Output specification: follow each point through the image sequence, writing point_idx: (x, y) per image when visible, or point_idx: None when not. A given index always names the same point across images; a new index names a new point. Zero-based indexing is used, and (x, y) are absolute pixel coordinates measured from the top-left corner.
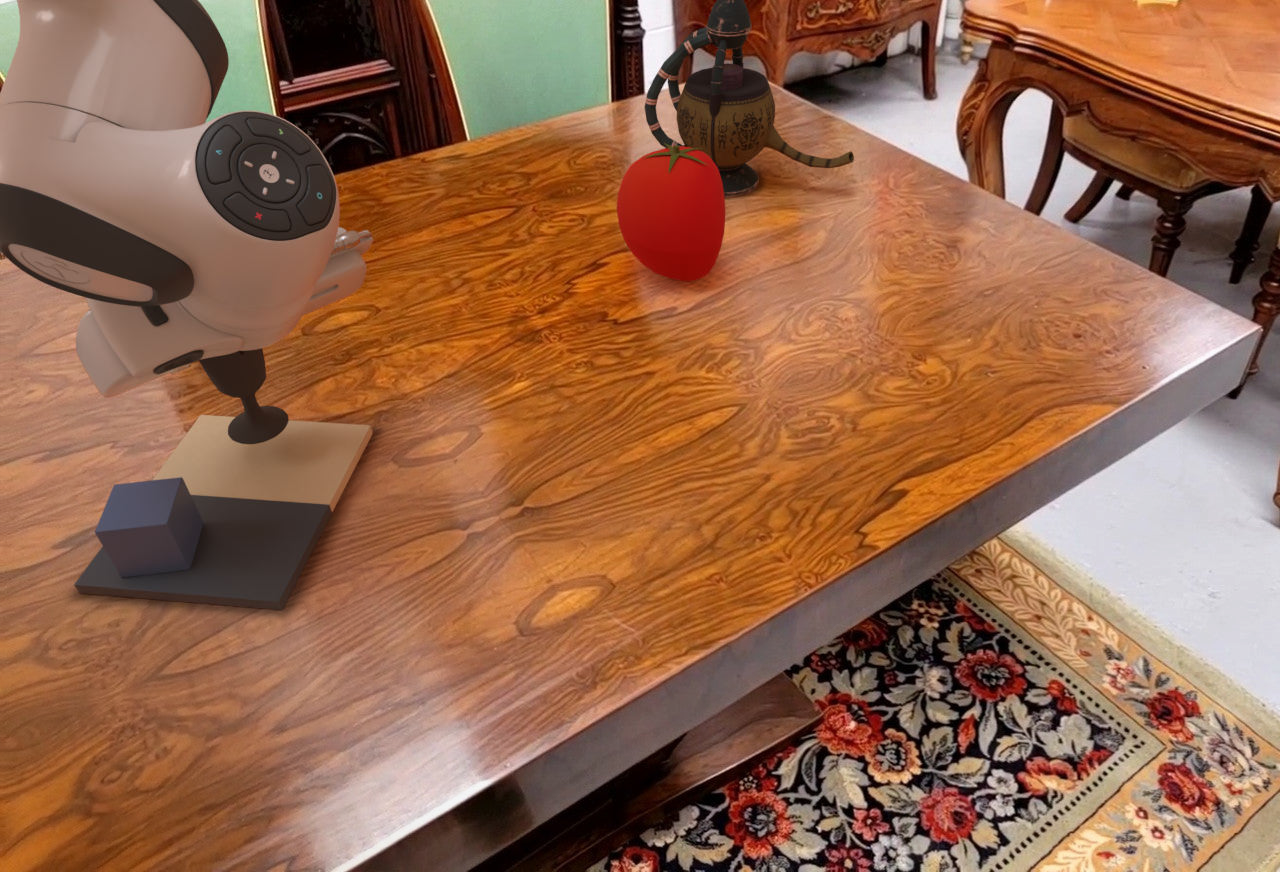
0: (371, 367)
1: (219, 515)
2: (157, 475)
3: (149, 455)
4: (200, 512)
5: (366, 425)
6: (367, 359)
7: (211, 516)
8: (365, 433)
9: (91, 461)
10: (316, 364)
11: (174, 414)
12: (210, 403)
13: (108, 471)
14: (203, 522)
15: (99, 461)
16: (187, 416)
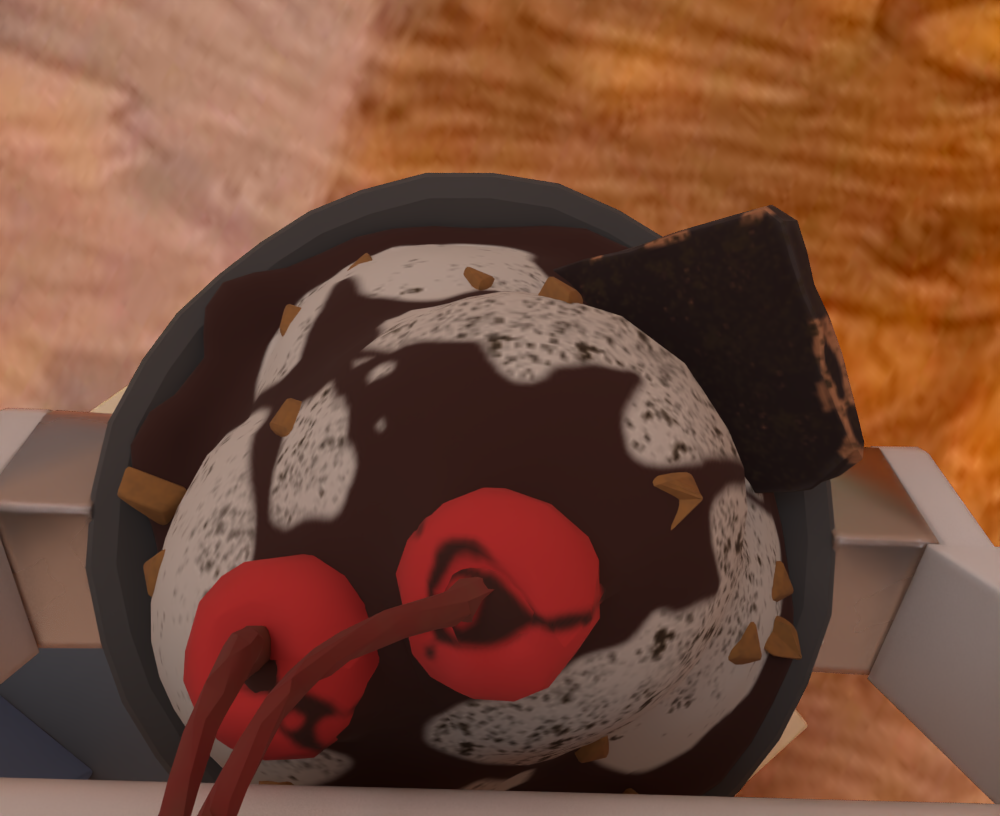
0: (972, 367)
1: (152, 776)
2: (116, 401)
3: (178, 241)
4: (115, 708)
5: (795, 717)
6: (983, 314)
7: (129, 761)
8: (769, 758)
9: (35, 132)
10: (829, 207)
11: (341, 105)
12: (456, 138)
13: (46, 219)
14: (90, 775)
15: (52, 151)
16: (367, 145)
